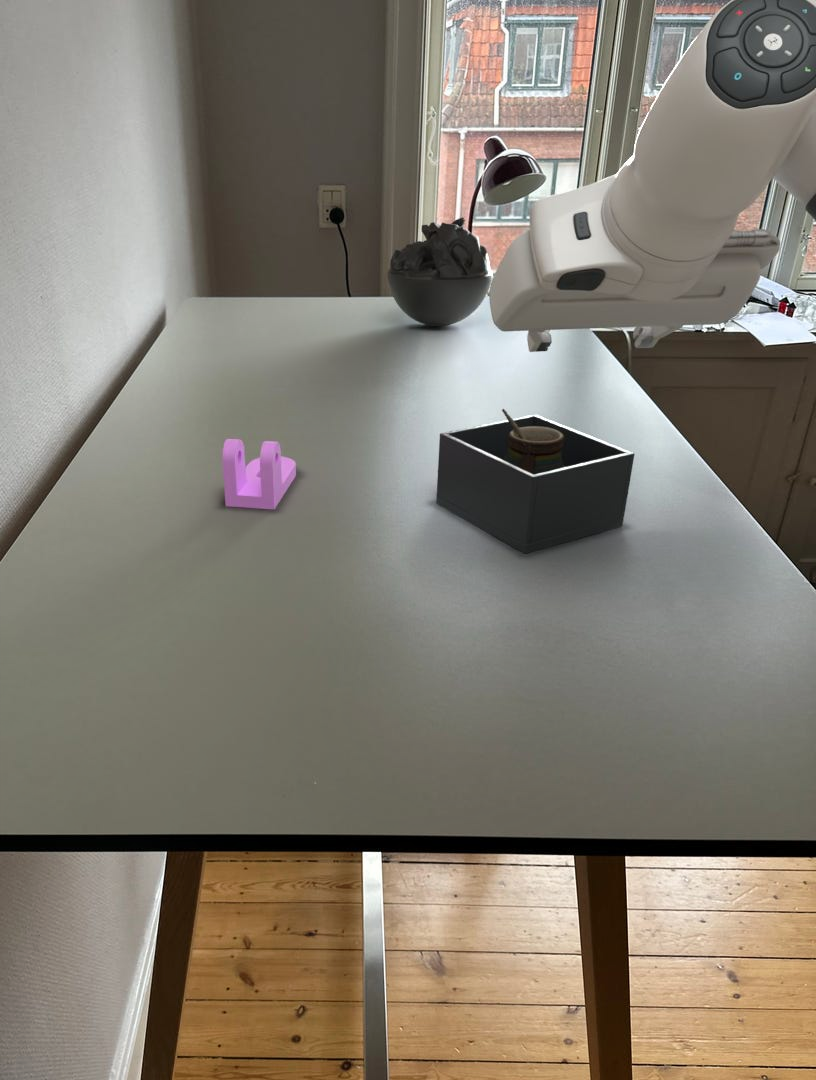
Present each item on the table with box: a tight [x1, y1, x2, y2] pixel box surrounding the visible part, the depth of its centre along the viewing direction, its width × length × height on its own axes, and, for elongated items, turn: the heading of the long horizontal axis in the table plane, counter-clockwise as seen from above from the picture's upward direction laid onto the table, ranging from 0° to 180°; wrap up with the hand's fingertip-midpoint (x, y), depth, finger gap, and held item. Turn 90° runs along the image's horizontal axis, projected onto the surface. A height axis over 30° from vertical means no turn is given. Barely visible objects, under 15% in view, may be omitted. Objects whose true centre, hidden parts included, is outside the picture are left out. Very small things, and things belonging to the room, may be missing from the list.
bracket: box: [221, 438, 297, 511], centre depth 105 cm, size 13×6×7 cm, turn 169°
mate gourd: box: [501, 408, 564, 474], centre depth 96 cm, size 7×8×10 cm
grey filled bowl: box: [387, 217, 494, 327], centre depth 175 cm, size 20×20×19 cm
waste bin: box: [435, 414, 635, 554], centre depth 97 cm, size 13×15×8 cm
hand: (589, 342), depth 79 cm, fingers open, 8 cm apart
